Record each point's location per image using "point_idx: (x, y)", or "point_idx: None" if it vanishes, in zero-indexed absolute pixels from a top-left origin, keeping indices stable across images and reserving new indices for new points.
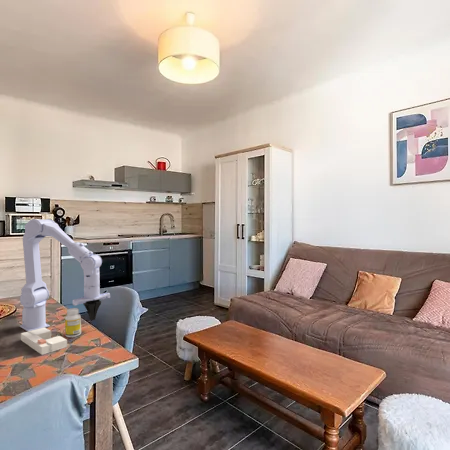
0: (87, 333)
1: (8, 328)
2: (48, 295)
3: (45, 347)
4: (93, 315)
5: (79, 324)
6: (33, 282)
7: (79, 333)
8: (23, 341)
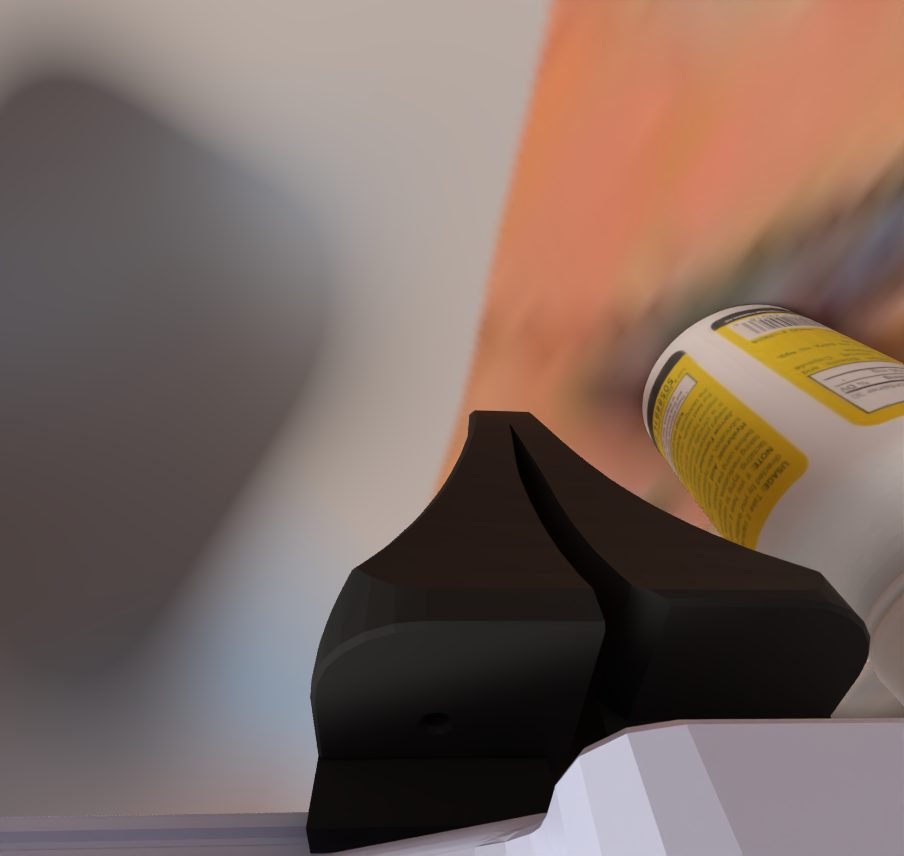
0: (611, 294)
1: None
2: None
3: None
4: (531, 439)
5: (806, 366)
6: None
7: (728, 315)
8: None
